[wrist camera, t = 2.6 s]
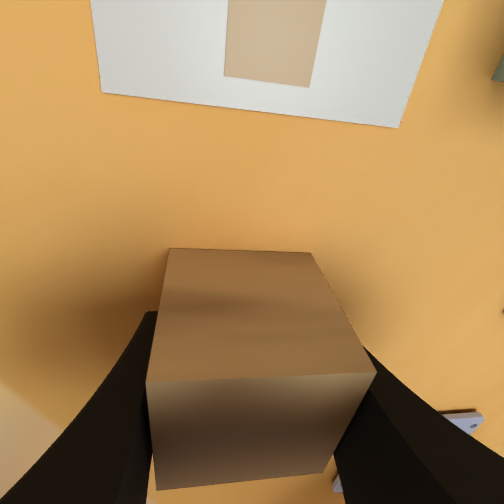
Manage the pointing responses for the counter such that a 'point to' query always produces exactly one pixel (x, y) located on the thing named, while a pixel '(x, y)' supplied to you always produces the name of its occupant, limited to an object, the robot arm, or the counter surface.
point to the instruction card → (268, 54)
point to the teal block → (499, 71)
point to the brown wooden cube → (249, 369)
